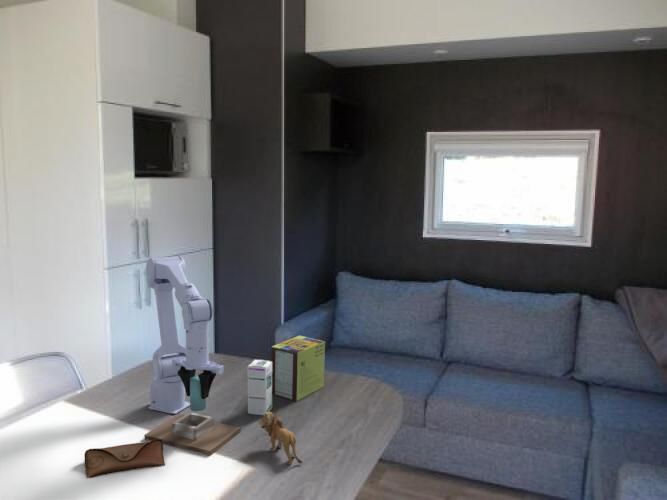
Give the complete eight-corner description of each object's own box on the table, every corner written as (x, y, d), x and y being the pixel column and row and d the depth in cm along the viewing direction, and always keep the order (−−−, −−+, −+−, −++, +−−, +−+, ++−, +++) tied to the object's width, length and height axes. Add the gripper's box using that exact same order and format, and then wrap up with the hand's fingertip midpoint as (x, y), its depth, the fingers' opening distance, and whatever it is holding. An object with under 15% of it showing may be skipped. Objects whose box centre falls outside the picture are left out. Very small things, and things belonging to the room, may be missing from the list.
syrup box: (266, 416, 161) (267, 367, 159) (246, 413, 162) (247, 365, 160) (272, 408, 166) (273, 360, 164) (253, 405, 168) (254, 358, 166)
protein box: (324, 386, 184) (325, 340, 182) (296, 402, 171) (297, 352, 169) (298, 379, 190) (299, 334, 188) (269, 394, 177) (270, 346, 175)
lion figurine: (255, 446, 143) (256, 412, 142) (272, 440, 147) (272, 407, 146) (294, 469, 133) (294, 432, 132) (310, 461, 137) (311, 426, 135)
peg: (186, 409, 147) (186, 379, 146) (196, 403, 150) (196, 375, 149) (199, 412, 145) (199, 382, 144) (208, 406, 149) (208, 377, 148)
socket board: (144, 439, 145) (144, 423, 145) (178, 417, 158) (178, 403, 157) (210, 455, 138) (210, 439, 137) (240, 432, 151) (240, 417, 150)
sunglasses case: (84, 479, 126) (83, 448, 128) (84, 480, 131) (83, 451, 134) (167, 465, 133) (165, 435, 135) (164, 467, 139) (162, 438, 141)
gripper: (164, 346, 144) (164, 397, 146) (212, 354, 139) (212, 406, 141) (181, 339, 151) (181, 387, 153) (228, 346, 146) (227, 396, 147)
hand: (197, 396), depth 147 cm, fingers closed on peg, 4 cm apart
